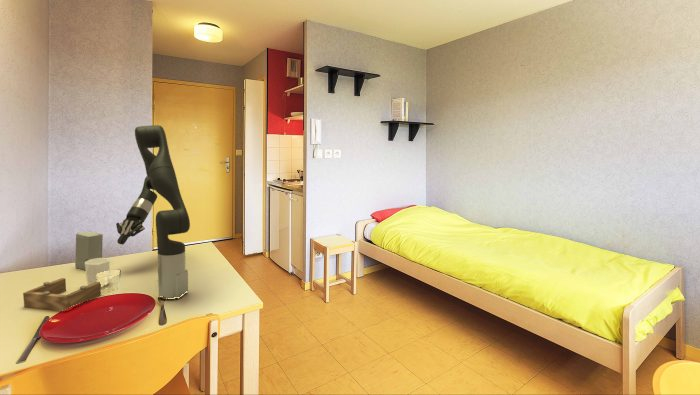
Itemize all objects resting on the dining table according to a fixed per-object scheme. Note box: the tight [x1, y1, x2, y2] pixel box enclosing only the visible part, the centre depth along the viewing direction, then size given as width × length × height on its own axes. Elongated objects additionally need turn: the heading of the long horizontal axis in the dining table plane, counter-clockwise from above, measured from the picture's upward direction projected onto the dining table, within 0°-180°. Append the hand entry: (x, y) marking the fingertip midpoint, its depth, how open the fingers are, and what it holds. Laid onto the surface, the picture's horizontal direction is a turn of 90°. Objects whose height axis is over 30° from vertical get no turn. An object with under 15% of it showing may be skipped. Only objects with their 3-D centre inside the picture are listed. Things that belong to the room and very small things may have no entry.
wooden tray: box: [22, 277, 102, 312], centre depth 121 cm, size 16×14×6 cm
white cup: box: [84, 257, 110, 286], centre depth 134 cm, size 8×8×10 cm
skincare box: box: [74, 231, 104, 271], centre depth 152 cm, size 8×7×16 cm
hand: (120, 243), depth 145 cm, fingers closed
